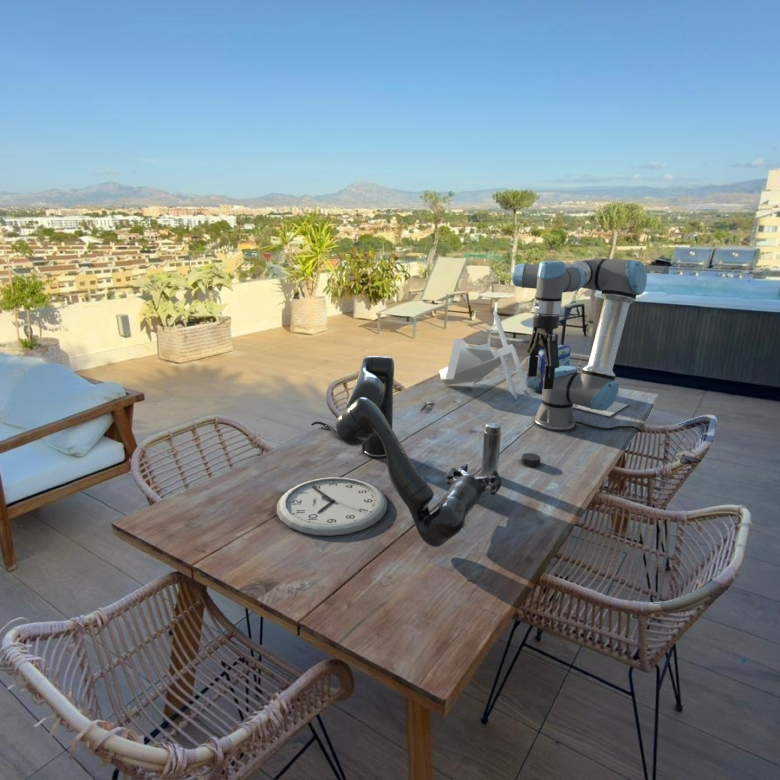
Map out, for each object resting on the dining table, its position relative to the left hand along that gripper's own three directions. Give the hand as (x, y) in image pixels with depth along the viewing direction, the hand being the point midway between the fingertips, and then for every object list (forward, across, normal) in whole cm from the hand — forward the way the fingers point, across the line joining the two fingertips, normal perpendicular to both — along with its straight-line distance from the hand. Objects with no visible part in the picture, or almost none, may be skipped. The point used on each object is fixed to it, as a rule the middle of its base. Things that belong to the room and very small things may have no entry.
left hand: (480, 470), depth 150 cm
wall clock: (-26, +34, +7) cm, 43 cm away
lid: (+26, -10, +5) cm, 29 cm away
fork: (+63, +42, +7) cm, 76 cm away
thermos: (+11, 0, +7) cm, 13 cm away
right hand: (+27, -10, -21) cm, 35 cm away
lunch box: (+116, +1, +7) cm, 116 cm away
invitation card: (+98, -26, +7) cm, 102 cm away
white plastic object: (+93, +27, +7) cm, 97 cm away
